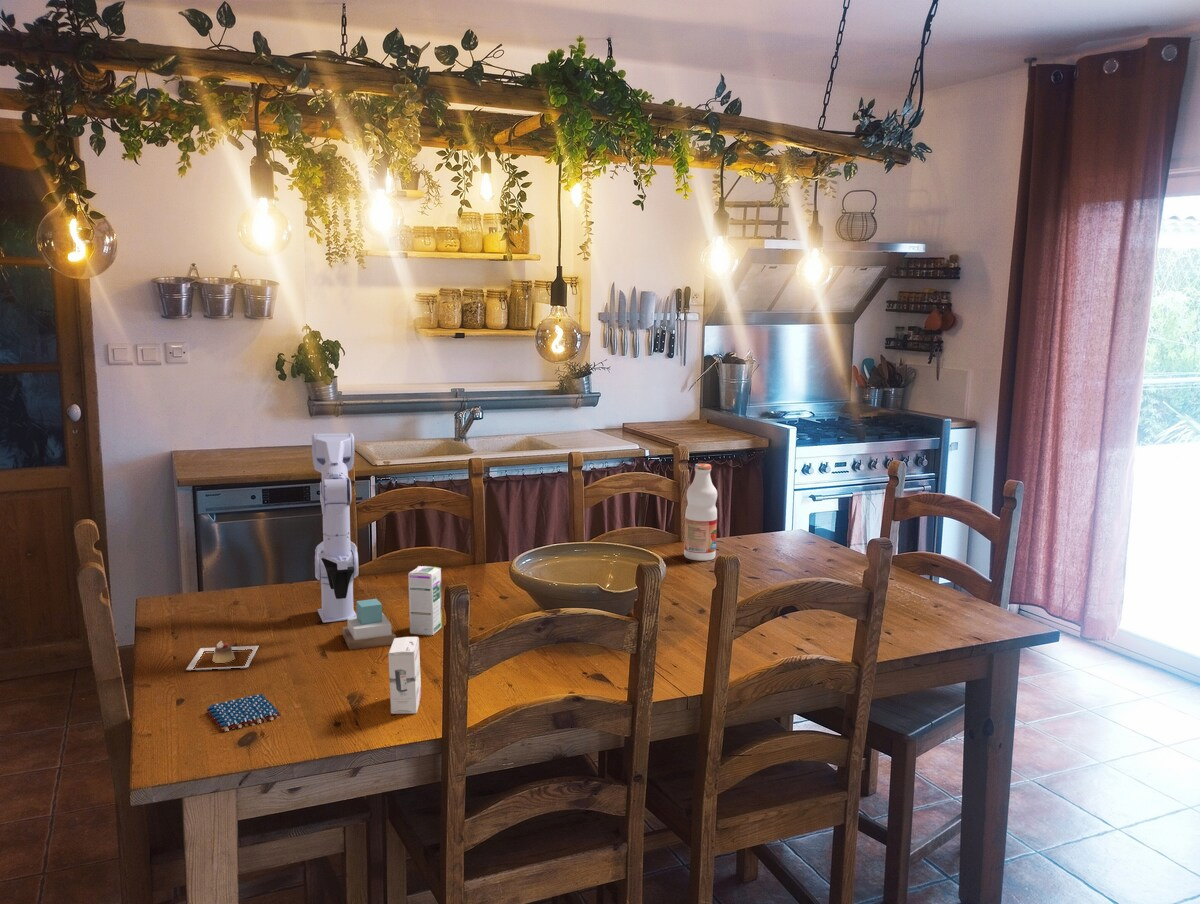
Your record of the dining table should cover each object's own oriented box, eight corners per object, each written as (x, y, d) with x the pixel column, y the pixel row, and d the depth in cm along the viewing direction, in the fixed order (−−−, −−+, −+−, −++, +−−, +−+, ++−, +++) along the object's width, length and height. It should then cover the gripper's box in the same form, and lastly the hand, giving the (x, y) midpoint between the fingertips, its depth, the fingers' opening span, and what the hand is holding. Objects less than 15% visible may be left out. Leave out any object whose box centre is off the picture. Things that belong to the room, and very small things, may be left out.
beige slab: (342, 637, 215) (342, 626, 214) (387, 631, 219) (386, 621, 218) (349, 652, 206) (349, 641, 205) (396, 646, 210) (396, 635, 209)
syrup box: (433, 636, 215) (432, 573, 213) (408, 633, 216) (407, 571, 214) (442, 627, 220) (442, 566, 218) (418, 625, 222) (417, 565, 219)
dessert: (259, 650, 206) (258, 629, 205) (248, 671, 194) (247, 649, 193) (200, 653, 204) (199, 631, 203) (185, 674, 192) (184, 652, 191)
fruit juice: (679, 553, 289) (683, 462, 284) (709, 552, 291) (713, 461, 286) (689, 561, 280) (692, 467, 275) (719, 560, 282) (723, 467, 277)
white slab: (347, 628, 213) (347, 617, 213) (383, 623, 217) (383, 613, 216) (354, 640, 206) (354, 629, 206) (391, 635, 210) (391, 624, 209)
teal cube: (356, 618, 212) (356, 601, 212) (376, 615, 215) (376, 598, 214) (361, 624, 209) (361, 607, 208) (382, 621, 211) (381, 604, 210)
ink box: (394, 695, 183) (393, 636, 181) (421, 695, 183) (420, 635, 181) (388, 715, 174) (387, 652, 172) (416, 714, 175) (416, 652, 173)
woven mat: (283, 721, 172) (283, 710, 172) (222, 736, 166) (221, 725, 165) (264, 701, 180) (263, 691, 180) (205, 714, 174) (205, 704, 174)
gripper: (313, 527, 213) (315, 586, 216) (322, 542, 200) (324, 604, 202) (345, 524, 216) (346, 582, 218) (356, 539, 203) (358, 601, 205)
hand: (338, 593), depth 211 cm, fingers open, 7 cm apart
